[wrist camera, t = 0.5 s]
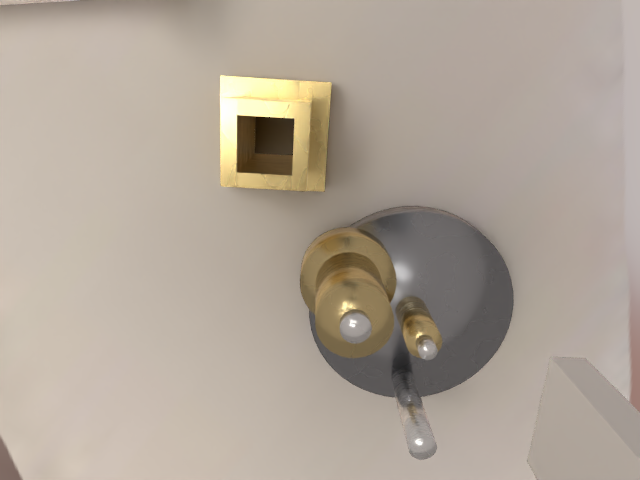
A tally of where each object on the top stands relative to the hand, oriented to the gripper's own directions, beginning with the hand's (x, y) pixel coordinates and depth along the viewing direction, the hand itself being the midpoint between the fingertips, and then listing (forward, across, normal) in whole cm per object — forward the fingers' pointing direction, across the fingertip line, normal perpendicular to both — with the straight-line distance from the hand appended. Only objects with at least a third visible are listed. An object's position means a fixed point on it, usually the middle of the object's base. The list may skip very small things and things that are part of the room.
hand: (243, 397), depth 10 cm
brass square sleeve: (+20, -1, +4) cm, 21 cm away
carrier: (+20, +8, -7) cm, 23 cm away
